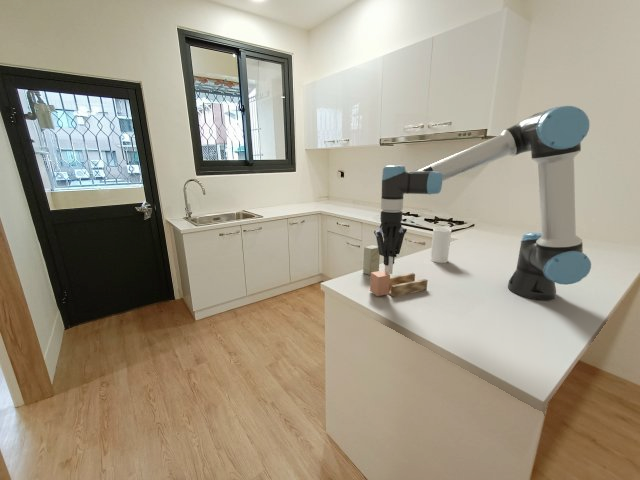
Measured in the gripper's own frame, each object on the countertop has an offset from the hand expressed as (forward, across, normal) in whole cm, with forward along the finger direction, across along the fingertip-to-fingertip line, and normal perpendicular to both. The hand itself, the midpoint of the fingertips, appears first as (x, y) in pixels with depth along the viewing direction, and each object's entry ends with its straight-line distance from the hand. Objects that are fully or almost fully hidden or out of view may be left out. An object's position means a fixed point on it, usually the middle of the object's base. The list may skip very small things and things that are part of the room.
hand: (388, 272), depth 110 cm
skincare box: (+8, -6, -20) cm, 23 cm away
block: (+7, +4, 0) cm, 8 cm away
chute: (+8, -8, 0) cm, 11 cm away
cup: (+9, -47, -21) cm, 52 cm away
